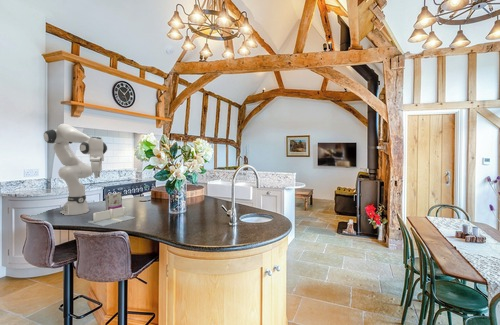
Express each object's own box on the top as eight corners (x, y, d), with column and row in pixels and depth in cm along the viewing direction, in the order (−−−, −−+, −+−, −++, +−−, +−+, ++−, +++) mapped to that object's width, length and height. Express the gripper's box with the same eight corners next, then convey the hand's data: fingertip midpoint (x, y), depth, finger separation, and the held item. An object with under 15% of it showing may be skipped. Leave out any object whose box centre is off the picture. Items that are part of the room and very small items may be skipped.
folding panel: (92, 221, 180) (92, 213, 180) (108, 218, 190) (108, 210, 190) (94, 221, 179) (94, 213, 179) (110, 218, 189) (109, 210, 189)
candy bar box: (119, 211, 213) (118, 192, 213) (122, 212, 211) (122, 192, 210) (105, 214, 204) (104, 194, 203) (108, 215, 201) (108, 194, 201)
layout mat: (87, 222, 181) (87, 221, 181) (120, 215, 203) (120, 214, 203) (103, 226, 172) (103, 225, 172) (135, 218, 194) (135, 217, 194)
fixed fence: (109, 218, 191) (109, 209, 190) (123, 215, 201) (123, 206, 200) (110, 218, 190) (110, 209, 189) (125, 215, 200) (125, 206, 199)
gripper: (94, 158, 197) (94, 176, 197) (89, 159, 178) (89, 178, 178) (103, 158, 199) (104, 176, 200) (99, 158, 180) (100, 178, 181)
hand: (97, 177), depth 189 cm, fingers open, 8 cm apart
